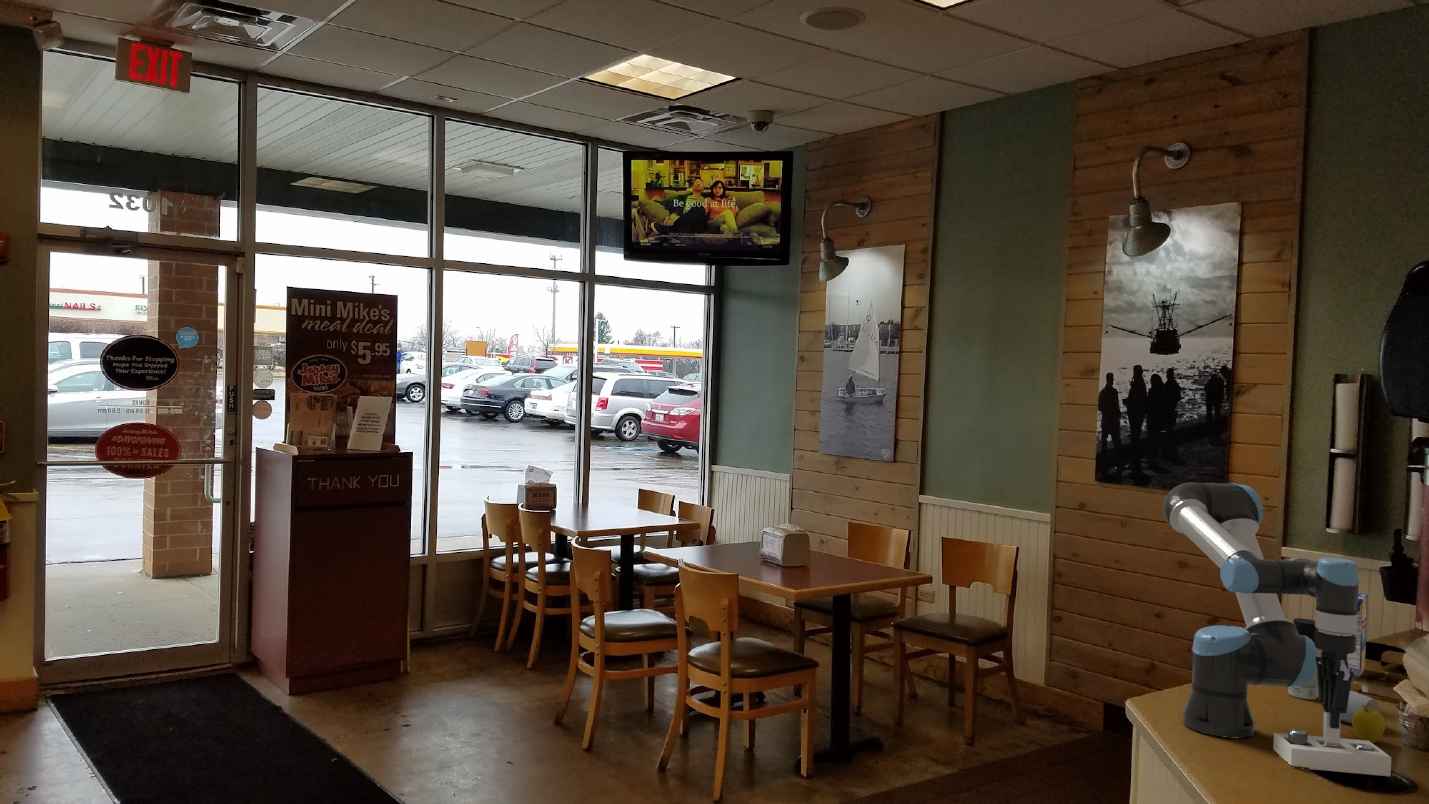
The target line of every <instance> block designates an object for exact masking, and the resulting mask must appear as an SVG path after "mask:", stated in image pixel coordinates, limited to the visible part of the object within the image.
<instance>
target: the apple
mask: <svg viewBox="0 0 1429 804" xmlns="http://www.w3.org/2000/svg"><path fill="white" fill-rule="evenodd" d="M1362 706H1363V707H1364V705H1362ZM1351 724H1352V728H1353V730H1354V732H1355V734H1356V736H1357V737H1358V738H1359V739H1360V740H1365V741H1370V742H1371V743H1372V744H1375V743H1377V742H1378V741H1379V740H1380V739H1381V738H1382V736H1383V734H1385V730H1386V720H1385V717H1384V716H1383V715H1382V714H1381V712H1380V713H1378V712H1376V711H1373V710H1370V709H1366V708H1365V707H1364V708H1360V709H1358V710H1357V711H1356V712H1355V714H1354V716H1353V719H1352V723H1351Z"/></svg>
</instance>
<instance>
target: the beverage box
mask: <svg viewBox="0 0 1429 804" xmlns="http://www.w3.org/2000/svg"><path fill="white" fill-rule="evenodd" d="M1367 617H1368V594H1364V593H1358V605H1357V618H1358V619H1359V621H1358V622H1357V623H1356V632H1355V633H1353V634H1354V635H1355V636H1356V651H1355V652H1354V653H1352V654H1348V655H1347V661H1348V671H1350V672H1353V673H1354V677H1356V678H1360V677H1361V676H1362V675H1363V673H1364V671H1365V669H1366V664H1365V663H1366V646H1367V641H1366V640H1367V625H1368V624H1367V620H1368V619H1367Z"/></svg>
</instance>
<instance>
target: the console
mask: <svg viewBox="0 0 1429 804" xmlns="http://www.w3.org/2000/svg"><path fill="white" fill-rule="evenodd" d="M1322 741H1323V736H1317V735H1308V743H1307V746H1306V745H1294V744H1290V743H1289V742H1288V733H1283V732H1273V745H1272V747H1273V748H1272V750H1273V749H1274V751H1276V752H1277V753H1278V754H1279V755H1280V756H1281V757H1282V758H1283V759H1284V760H1285V761H1287V762H1288V764H1290V765H1292V766H1302V767H1308V768H1309V769H1308V770H1315V771H1330V772H1339V773H1348V774H1349V773H1350V774H1359V775H1360V774H1361V775H1370V776H1382V777H1383V776H1385V777H1392V776H1391V775H1392V773H1391V772H1392V756H1390V755H1389V754H1388V753H1386V752H1385V751H1384V750H1382V749H1381V748H1379V747H1378V746H1377V745H1375V743H1372V742H1370V741H1365V740H1363V739H1354V738H1353V739H1352V738H1341V737H1340V743H1338V744H1340V745H1341V749H1340V748H1328V747H1323V746H1322V745H1321V742H1322ZM1355 744H1366V745H1369V746H1372V747H1373V748H1374V752H1373V751H1362V750H1357V749H1356V748H1354V745H1355ZM1274 751H1273V752H1274ZM1280 756H1279V757H1280ZM1281 757H1280V758H1281ZM1282 758H1281V759H1282ZM1283 759H1282V760H1283ZM1284 760H1283V761H1284ZM1285 761H1284V762H1285ZM1288 764H1287V765H1288Z"/></svg>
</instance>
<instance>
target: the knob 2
mask: <svg viewBox="0 0 1429 804" xmlns="http://www.w3.org/2000/svg"><path fill="white" fill-rule="evenodd" d="M1354 748H1356V749H1357V750H1362V751H1373V752H1374V748H1373V747H1372V746H1369V745H1366V744H1355V745H1354Z"/></svg>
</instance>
